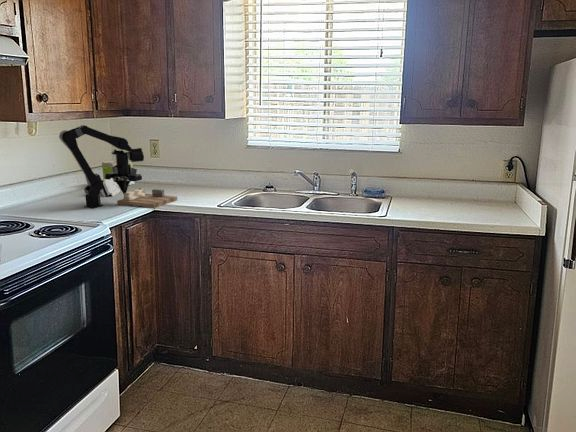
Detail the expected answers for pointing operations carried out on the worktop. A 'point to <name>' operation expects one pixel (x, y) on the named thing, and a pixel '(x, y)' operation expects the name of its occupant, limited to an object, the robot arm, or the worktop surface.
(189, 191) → the worktop surface
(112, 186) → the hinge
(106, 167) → the tea box
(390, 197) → the worktop surface
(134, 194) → the leg
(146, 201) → the seat board
